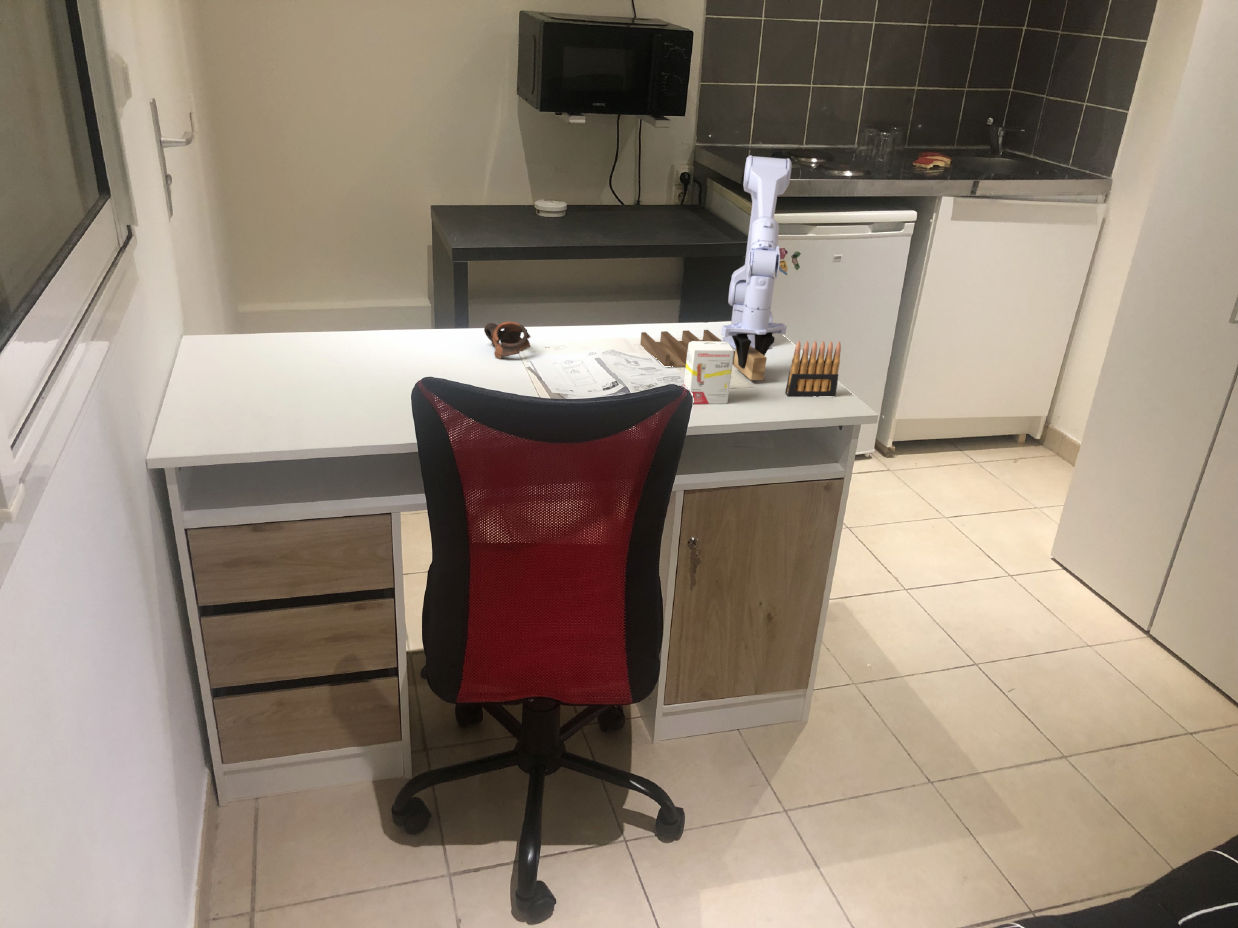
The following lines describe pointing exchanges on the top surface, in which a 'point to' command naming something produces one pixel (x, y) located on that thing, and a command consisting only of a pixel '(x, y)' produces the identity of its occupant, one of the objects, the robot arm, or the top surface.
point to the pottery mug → (507, 338)
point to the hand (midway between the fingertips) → (749, 366)
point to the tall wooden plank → (752, 364)
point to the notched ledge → (673, 347)
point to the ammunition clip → (814, 372)
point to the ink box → (709, 371)
